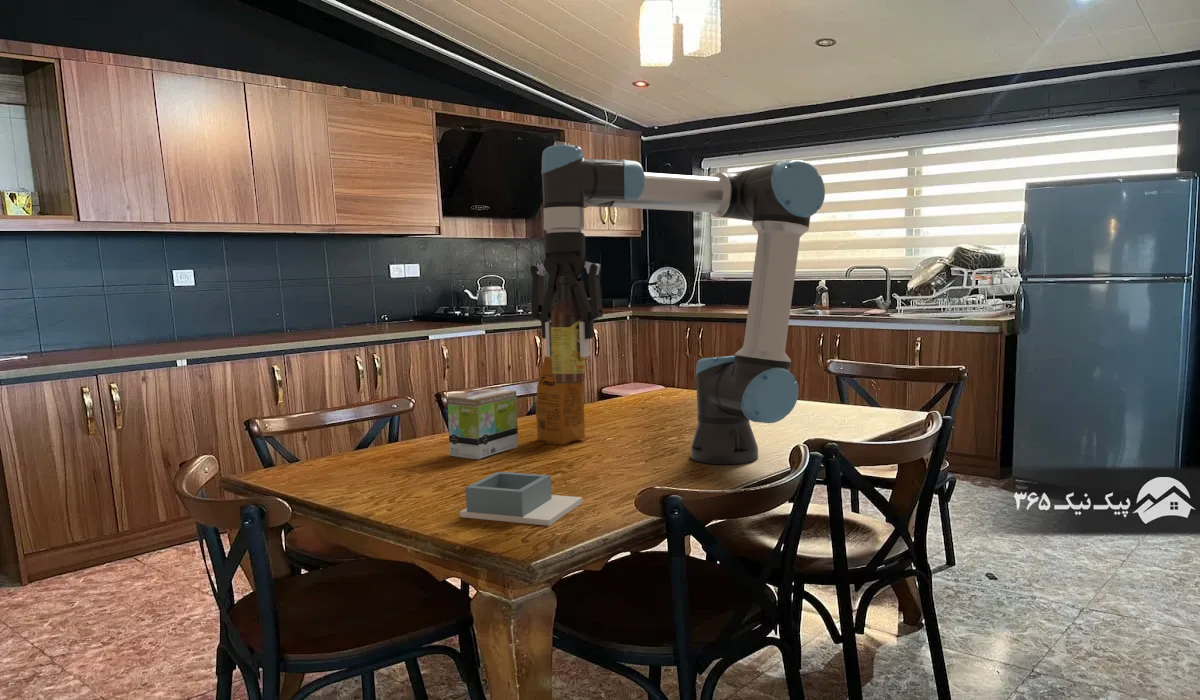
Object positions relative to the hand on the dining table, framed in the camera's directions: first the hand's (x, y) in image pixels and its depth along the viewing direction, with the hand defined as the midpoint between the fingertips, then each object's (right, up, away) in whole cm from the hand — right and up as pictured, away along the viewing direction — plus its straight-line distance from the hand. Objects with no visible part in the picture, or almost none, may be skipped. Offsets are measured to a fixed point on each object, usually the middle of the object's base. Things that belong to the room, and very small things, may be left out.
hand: (567, 356), depth 149 cm
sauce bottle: (0, -5, +1) cm, 5 cm away
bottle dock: (-8, -28, -2) cm, 30 cm away
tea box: (-22, -24, +47) cm, 57 cm away
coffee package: (-4, -22, +56) cm, 61 cm away
